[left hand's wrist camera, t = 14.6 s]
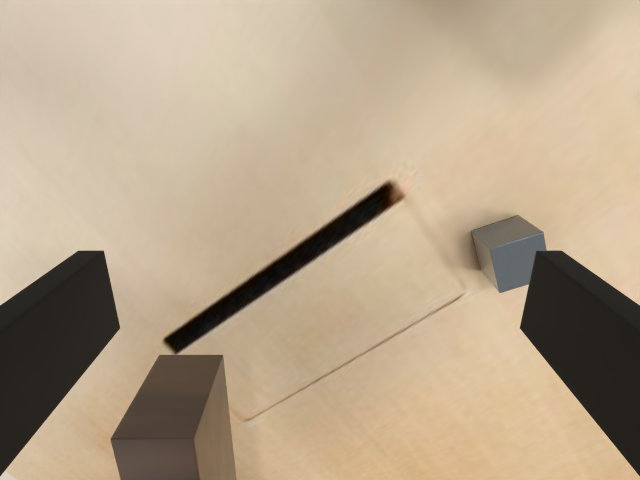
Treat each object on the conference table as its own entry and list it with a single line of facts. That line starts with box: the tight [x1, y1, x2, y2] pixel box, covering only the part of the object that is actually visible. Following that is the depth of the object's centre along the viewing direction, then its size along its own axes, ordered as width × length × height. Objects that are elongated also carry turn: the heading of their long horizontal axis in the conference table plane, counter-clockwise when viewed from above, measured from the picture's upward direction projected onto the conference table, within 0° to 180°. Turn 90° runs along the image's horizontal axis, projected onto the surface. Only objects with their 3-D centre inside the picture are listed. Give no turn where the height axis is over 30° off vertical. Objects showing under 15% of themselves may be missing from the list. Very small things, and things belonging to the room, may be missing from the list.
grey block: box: [471, 216, 546, 293], centre depth 41 cm, size 5×5×5 cm
